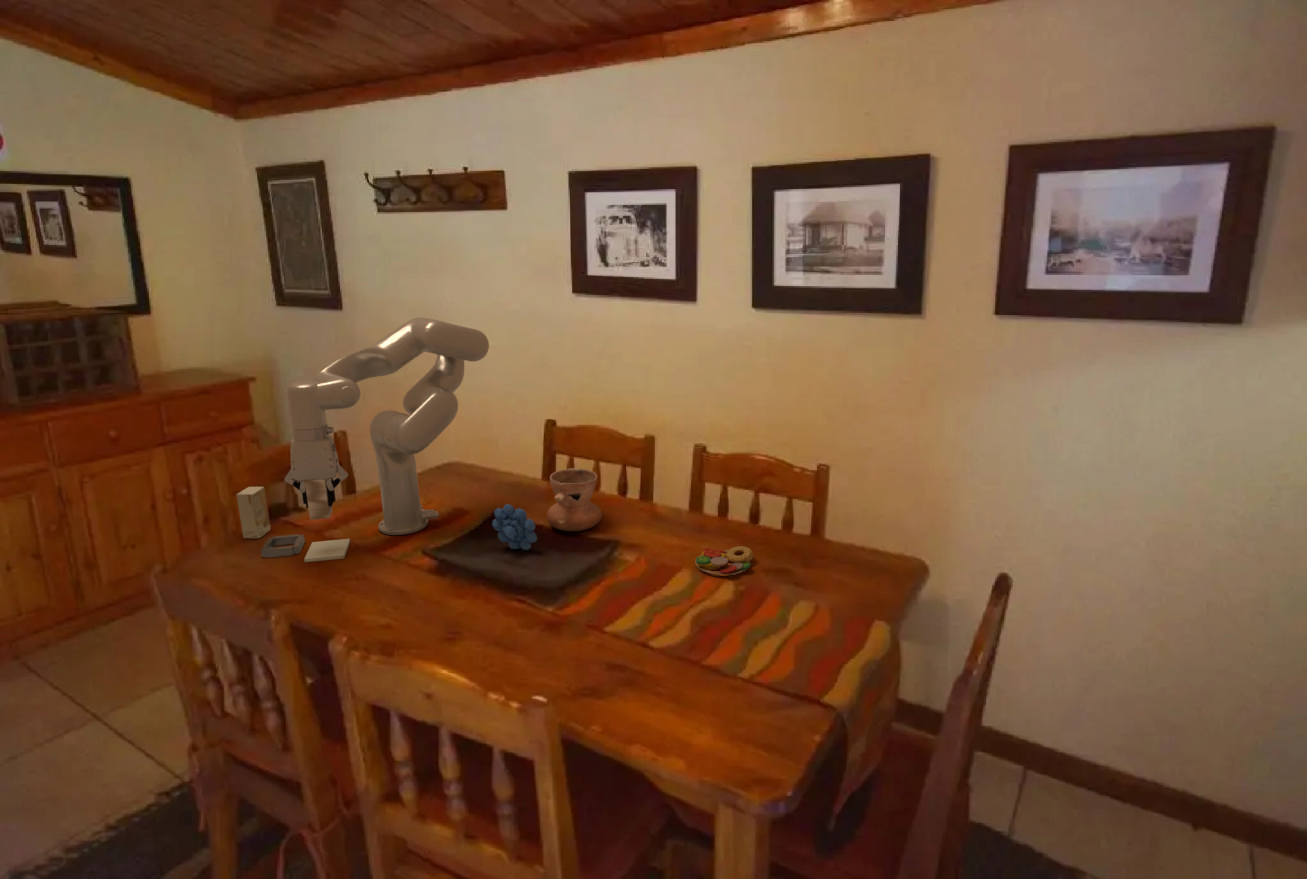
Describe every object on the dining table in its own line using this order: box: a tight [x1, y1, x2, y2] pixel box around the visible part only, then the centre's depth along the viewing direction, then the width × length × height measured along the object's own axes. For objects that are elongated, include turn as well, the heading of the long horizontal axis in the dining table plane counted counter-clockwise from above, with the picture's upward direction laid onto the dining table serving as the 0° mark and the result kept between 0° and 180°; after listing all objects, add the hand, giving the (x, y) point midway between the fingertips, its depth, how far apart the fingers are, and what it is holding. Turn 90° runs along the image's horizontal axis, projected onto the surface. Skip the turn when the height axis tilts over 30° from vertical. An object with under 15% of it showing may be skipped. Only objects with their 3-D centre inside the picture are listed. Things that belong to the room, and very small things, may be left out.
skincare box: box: [235, 486, 272, 539], centre depth 199 cm, size 6×4×12 cm
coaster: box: [303, 538, 351, 563], centre depth 190 cm, size 9×10×1 cm
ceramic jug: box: [546, 467, 603, 532], centre depth 203 cm, size 18×14×14 cm
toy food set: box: [694, 545, 754, 576], centre depth 180 cm, size 13×13×3 cm
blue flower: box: [491, 503, 538, 551], centre depth 188 cm, size 12×7×12 cm, turn 75°
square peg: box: [305, 479, 334, 521], centre depth 186 cm, size 4×4×10 cm
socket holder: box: [260, 533, 306, 559], centre depth 191 cm, size 8×8×2 cm
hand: (320, 504), depth 186 cm, fingers closed on square peg, 4 cm apart
